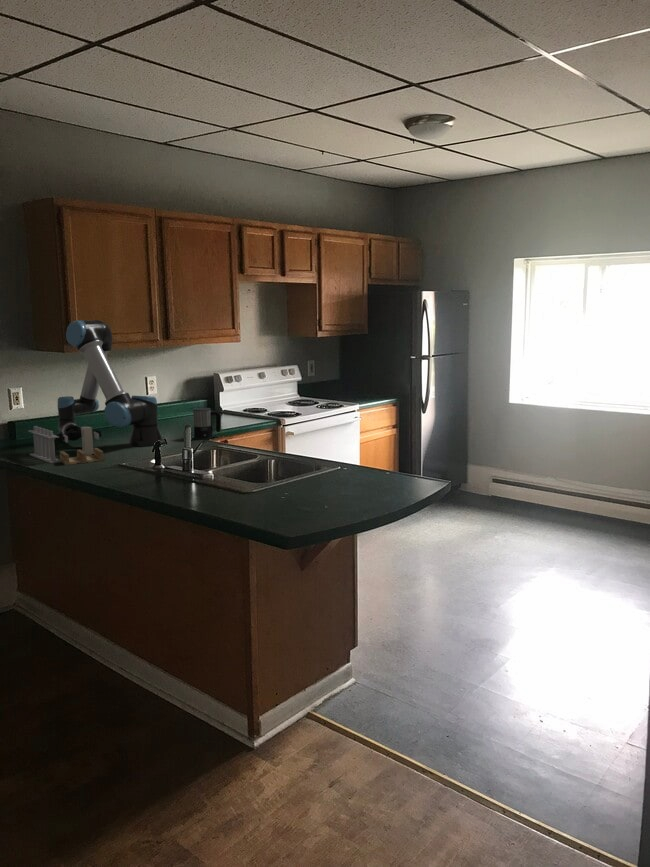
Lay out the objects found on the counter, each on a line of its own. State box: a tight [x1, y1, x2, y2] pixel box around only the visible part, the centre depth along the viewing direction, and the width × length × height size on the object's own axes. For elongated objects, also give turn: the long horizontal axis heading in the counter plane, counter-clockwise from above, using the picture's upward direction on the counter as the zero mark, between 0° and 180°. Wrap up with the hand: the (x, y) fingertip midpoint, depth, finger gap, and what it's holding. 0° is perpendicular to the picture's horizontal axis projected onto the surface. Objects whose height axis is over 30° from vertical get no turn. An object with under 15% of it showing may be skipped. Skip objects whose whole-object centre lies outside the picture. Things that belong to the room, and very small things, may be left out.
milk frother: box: [192, 407, 222, 440], centre depth 363 cm, size 14×16×15 cm
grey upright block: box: [80, 426, 94, 456], centre depth 318 cm, size 4×5×12 cm
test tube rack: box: [27, 425, 62, 465], centre depth 309 cm, size 25×4×13 cm, turn 41°
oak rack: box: [59, 447, 105, 466], centre depth 304 cm, size 16×10×4 cm, turn 122°
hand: (82, 438), depth 323 cm, fingers open, 13 cm apart
